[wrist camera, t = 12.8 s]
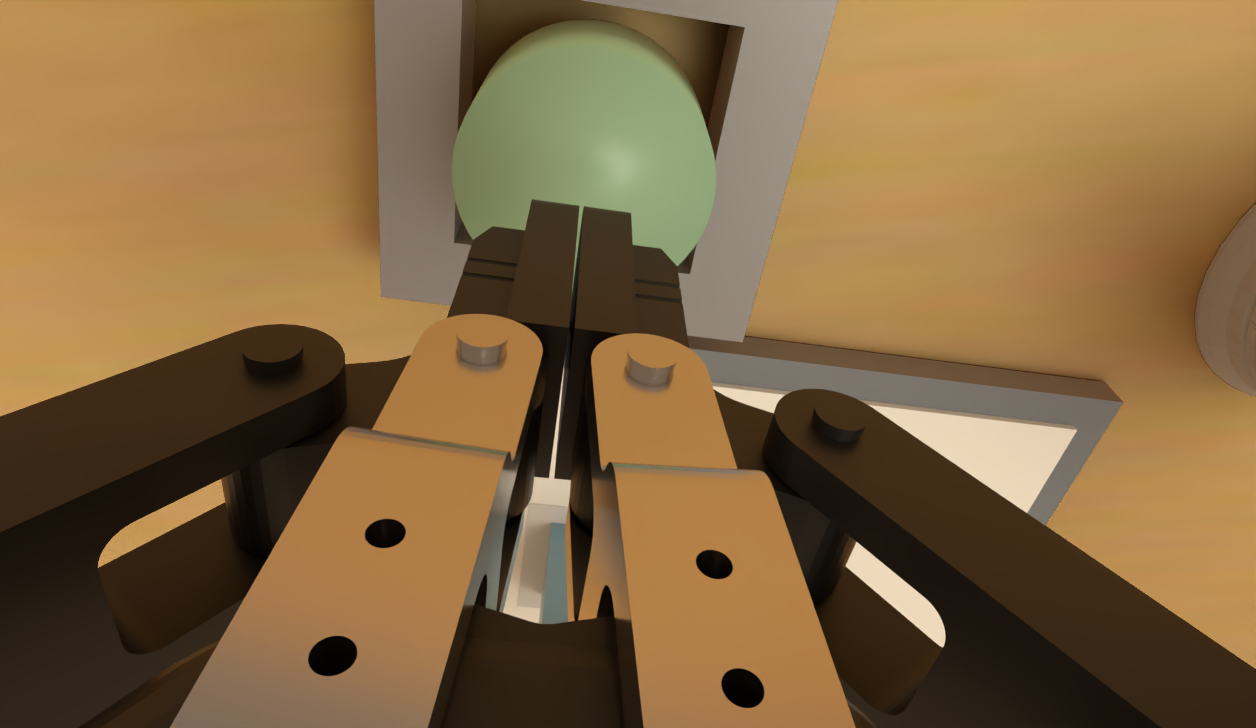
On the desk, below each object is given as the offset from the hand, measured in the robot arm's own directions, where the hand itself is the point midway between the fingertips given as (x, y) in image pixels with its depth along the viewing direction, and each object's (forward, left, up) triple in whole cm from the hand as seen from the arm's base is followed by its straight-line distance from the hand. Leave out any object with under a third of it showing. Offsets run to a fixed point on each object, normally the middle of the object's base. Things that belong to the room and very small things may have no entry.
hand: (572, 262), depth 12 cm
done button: (0, 0, -6) cm, 6 cm away
